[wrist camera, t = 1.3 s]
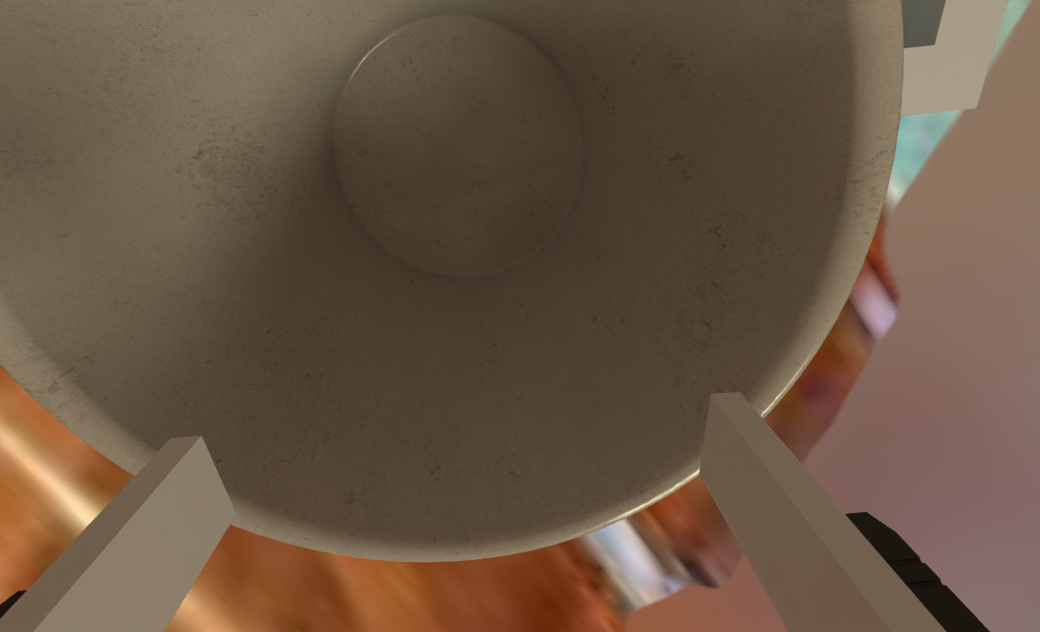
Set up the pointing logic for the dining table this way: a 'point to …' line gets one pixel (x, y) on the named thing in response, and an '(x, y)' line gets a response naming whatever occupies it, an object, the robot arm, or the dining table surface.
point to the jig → (947, 52)
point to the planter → (433, 243)
